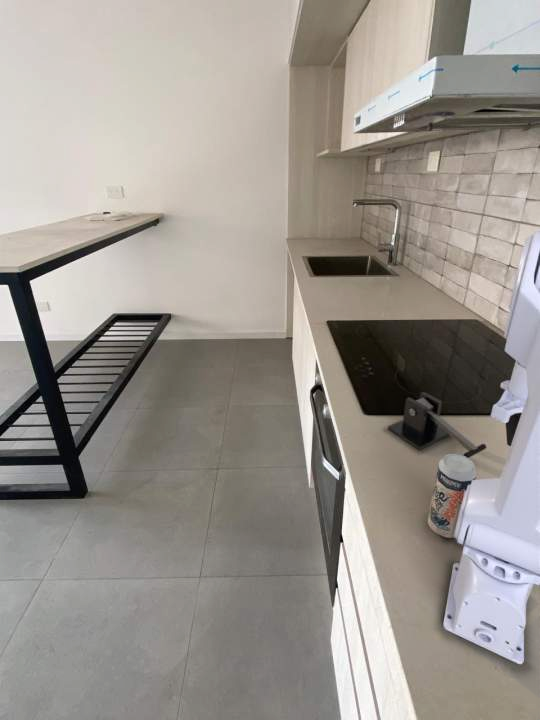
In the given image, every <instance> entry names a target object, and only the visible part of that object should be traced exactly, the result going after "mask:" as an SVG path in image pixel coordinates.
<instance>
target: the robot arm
mask: <svg viewBox="0 0 540 720" xmlns="http://www.w3.org/2000/svg"><path fill="white" fill-rule="evenodd" d="M513 283H514V284H513V287H512V293H511V296H510V300H509V305H508V309H509V313H508V317H507V320H506V325H505V329H504V333H503V337H504V339H505V340H506V342H505V346H504V352H505V353H506V354H507V355H509V356H510V357H511V358H512V359H513V360H515V363H514V364H513V365H514V366H513V369H512V373H511V377H510V380H508V379H507V380H504V381H502V382H500V385H499V387H500V388H501V389H502V390H504V391H503V393H502V395H501V397H500V399H499V400H498V401H497V402H496V403H494V404H492V405H493V406H492V409H491V413H490V418H492V419H494V420H496V421H498V422H500V423H502V424H505V435H506V445H507V446H509V450H508V453H507V457H506V459H505V462H504V465H503V468H502V472H501V474H500V477H495V478H479V479H477V478H476V480H472V483H471V484H470V485H468V487H467V491H465V494H464V498H463V501H462V505H461V509H460V513H459V517H458V521H457V525H456V529H455V534H454V536H455V537H454V539H455V540H456V543H457V544H459V545H463V547H462V553H461V556H460V561H459V562H455V563H453V566H452V572H451V577H450V581H449V587H448V595H447V600H446V606H445V612H444V617H443V623H442V626H443V628H444V629H445V631H448V632H450V633H452V634H454V635H456V636H459V637H460V638H463V639H464V640H467V641H469V642H471V643H472V644H473V643H474V644H475V645H477V646H479V647H482V648H483V649H486V650H488V651H490V652H492V653H494V654H496V655H498V656H501V657H503V658H505V659H507V660H509V661H512V662H513V663H515V664H517V665H523V664H524V661H525V629H526V625H527V603H528V600H529V597H530V595H531V592H532V590H533V587H534V585H537V586H540V230H536V231H534V232H533V234H531V235H529V236H528V237H526V238H525V240H524V244H523V247H522V251H521V255H520V259H519V263H518V267H517V270H516V275H515V279H514V282H513Z"/></svg>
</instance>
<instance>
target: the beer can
mask: <svg viewBox="0 0 540 720" xmlns="http://www.w3.org/2000/svg"><path fill="white" fill-rule="evenodd" d="M437 464H438V465H437V469H436V474H435V480H434V485H433V491H432V496H431V501H430V505H429V510H428V515H427V524H428V526H429V527H430V530H432V531H433V532H434V533H435V534H437V535H439V536H441V537H443V538H446V539H447V538H448V539H451V538H454V539H455V536H454V534H455V529H456V525H457V521H458V517H459V513H460V509H461V505H462V501H463V498H464V494H465V491H467V487H468V485H470V484H471V483H472V480H477V476H478V471H477V468H476V466H475V464H474V461H473V460H471V459H470V458H467V457H466V456H464V455H463V454H459V453H448V454H446V455H445V456H444V457H443V458H441V459H440V460H439V461H438V463H437Z"/></svg>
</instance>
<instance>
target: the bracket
mask: <svg viewBox="0 0 540 720" xmlns="http://www.w3.org/2000/svg"><path fill="white" fill-rule="evenodd" d="M421 398H424V399H426V400H427V401H428V402H429V403H431V404H432V405H433V406H434V407H433V410H432V411H433V412H434V413H435V414H437V415H438V416H439V417H440V415H441V410H442V405H443V401H442V400H441V399H439V398H437V397H435V396H433V395H431V394H429V393H427V392H425V391H422V392H420V394H419V399H421ZM427 410H428V407H426V406H424V405H422V404H421V403H419V402H417V401H416V400H415V399H414V398H412V397H407V398H406V399H405V405H404V412H403V418H402V420H399V421H398V422H395V423H392V424H390V425H388V426H387V431H388V432H390V433H391V434H392V435H395V436H396V437H398V438H399V439H400V440H402V441H404V442H405V443H406V444H407V445H409V446H411V447H412V448H414V449H415V450H417V451H418V452H420V451H422V450H424V449H426V448H428V447H431V446H433V445H434V444H436V443H438V442H440V441H442V440H445V439H447V438H449V437H451V436H450V435H449V434H448V433H447V432H445V431H444V430H443V429H442V428H441V427H439V426H438V425H437V424H436V423H435V422H433V421H432V420H431V419H430V418H429V417H426V416H427Z"/></svg>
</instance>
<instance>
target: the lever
mask: <svg viewBox="0 0 540 720" xmlns="http://www.w3.org/2000/svg"><path fill="white" fill-rule="evenodd" d="M415 401H417V402H419V403H421V404H422V405H424V406H426V407H428V410H427V416H426V417H429V418H430V419H431V420H432V421H433V422H435V423H436V424H437V425H438V426H439V427H441V428H442V429H443V430H444V431H445V432H447V433H448V434H449V435H450V436H449V437H451V438H452V439H453V440H455V441H456V442H457V443H458V444H459V445H461V446H462V447H463V448H464V449H465V450H467V451H466V452H464V453H463V456H466V457H467V458H468V459H470V458H472V457H474V456H475V455H477V454H479V453H481V452H482V451H484V450H486V449H487V445H486V444H485V443H481V444H479V445H478V446H476V445H475V444H474V443H472V442H471V441H470V440H469V439H467V437H465V436H464V435H462V433H460V432H459V431H458V430H457V429H455V428H454V427H453V426H452V425H450V424H449V423H448V422H447V421H446V420H444V419H443V418H442V417H440V416H438V415H437V414H435V413H434V412H433V411H432V410H433V407H434V406H433V405H432V404H431V403H429V402H428V401H427V400H426V399H424V398H421V399H420V398H419V399H416V400H415Z"/></svg>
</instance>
